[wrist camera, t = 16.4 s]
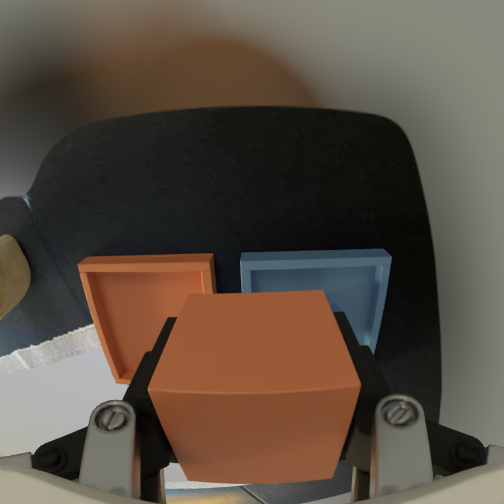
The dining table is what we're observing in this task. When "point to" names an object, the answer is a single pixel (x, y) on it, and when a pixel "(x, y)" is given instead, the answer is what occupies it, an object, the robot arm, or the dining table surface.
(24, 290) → the food model
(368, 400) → the robot arm
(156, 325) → the terracotta tray
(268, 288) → the blue tray
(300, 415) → the terracotta block
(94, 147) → the dining table surface
